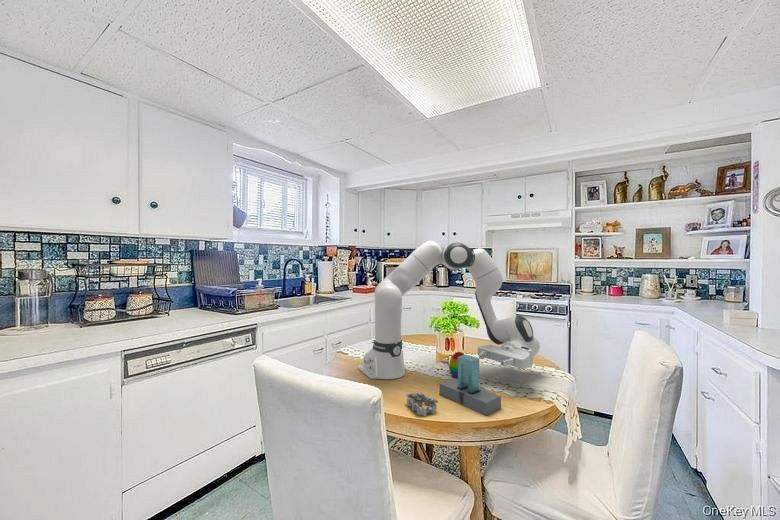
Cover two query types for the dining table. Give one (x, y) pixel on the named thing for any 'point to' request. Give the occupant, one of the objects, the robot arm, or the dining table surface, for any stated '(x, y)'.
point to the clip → (468, 373)
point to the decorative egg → (454, 364)
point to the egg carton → (421, 403)
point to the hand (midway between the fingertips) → (491, 360)
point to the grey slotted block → (471, 397)
